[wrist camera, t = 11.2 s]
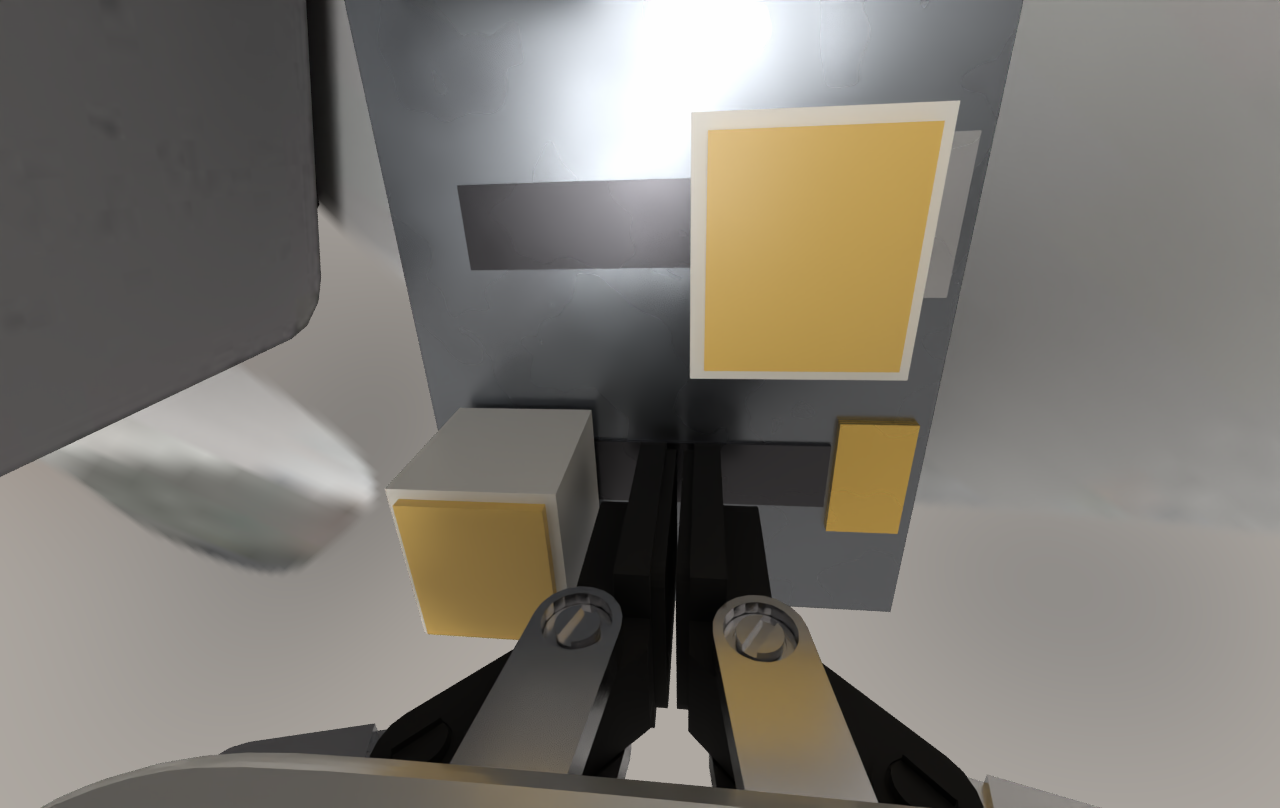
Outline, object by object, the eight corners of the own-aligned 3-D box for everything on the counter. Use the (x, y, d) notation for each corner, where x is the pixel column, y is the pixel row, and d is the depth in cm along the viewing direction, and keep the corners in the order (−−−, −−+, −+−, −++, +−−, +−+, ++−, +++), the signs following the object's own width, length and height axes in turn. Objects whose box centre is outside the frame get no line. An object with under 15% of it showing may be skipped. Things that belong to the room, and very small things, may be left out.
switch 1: (591, 409, 12) (552, 502, 9) (601, 534, 13) (571, 651, 10) (459, 408, 12) (378, 495, 9) (483, 530, 14) (419, 640, 11)
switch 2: (879, 113, 9) (968, 98, 6) (852, 314, 10) (912, 386, 7) (695, 121, 9) (691, 111, 6) (693, 316, 11) (689, 384, 8)
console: (973, -351, 10) (1198, -766, 6) (844, 496, 18) (892, 618, 14) (413, -278, 11) (211, -569, 7) (525, 486, 20) (469, 594, 15)
